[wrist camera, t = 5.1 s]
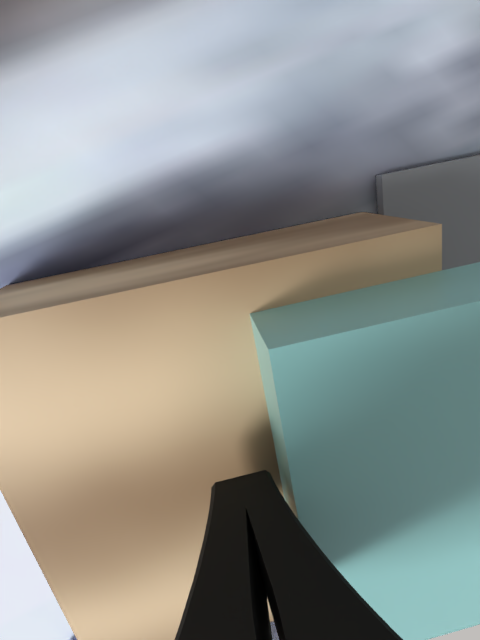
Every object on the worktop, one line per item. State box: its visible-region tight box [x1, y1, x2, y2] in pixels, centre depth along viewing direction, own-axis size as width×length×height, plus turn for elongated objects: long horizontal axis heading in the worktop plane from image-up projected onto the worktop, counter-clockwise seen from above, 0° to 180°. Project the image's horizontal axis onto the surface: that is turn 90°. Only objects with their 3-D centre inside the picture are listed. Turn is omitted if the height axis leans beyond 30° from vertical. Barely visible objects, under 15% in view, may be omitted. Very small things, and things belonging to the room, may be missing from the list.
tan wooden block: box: [0, 212, 442, 640], centre depth 12 cm, size 11×11×4 cm
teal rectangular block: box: [250, 262, 480, 640], centre depth 9 cm, size 9×6×2 cm, turn 10°
